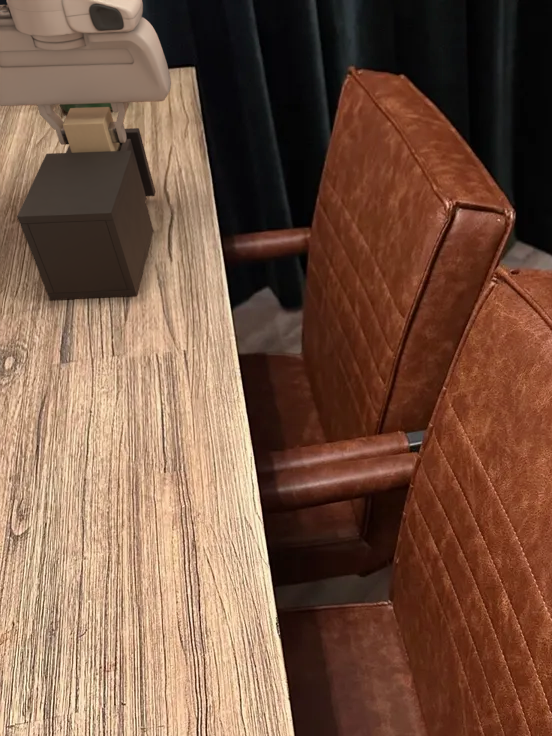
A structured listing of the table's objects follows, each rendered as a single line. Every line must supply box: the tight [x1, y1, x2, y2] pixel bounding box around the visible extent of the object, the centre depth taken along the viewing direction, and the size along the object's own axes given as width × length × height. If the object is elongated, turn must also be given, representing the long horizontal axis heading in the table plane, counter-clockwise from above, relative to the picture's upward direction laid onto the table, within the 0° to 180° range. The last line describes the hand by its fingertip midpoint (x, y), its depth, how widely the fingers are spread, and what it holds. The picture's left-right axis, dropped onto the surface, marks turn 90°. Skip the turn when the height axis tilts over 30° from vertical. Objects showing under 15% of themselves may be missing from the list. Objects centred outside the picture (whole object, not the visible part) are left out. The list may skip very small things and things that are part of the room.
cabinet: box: [16, 151, 154, 301], centre depth 98 cm, size 15×10×10 cm, turn 5°
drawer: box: [65, 127, 156, 202], centre depth 105 cm, size 17×8×8 cm, turn 5°
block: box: [63, 107, 120, 153], centre depth 101 cm, size 4×4×4 cm
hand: (94, 141), depth 102 cm, fingers closed on block, 4 cm apart
